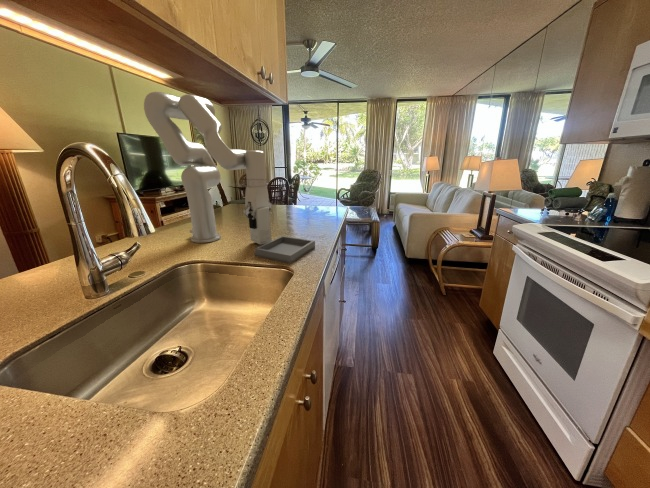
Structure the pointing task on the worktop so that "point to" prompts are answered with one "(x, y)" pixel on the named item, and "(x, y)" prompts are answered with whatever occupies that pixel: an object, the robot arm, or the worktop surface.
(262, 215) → the skincare box
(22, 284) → the worktop surface
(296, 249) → the tray
